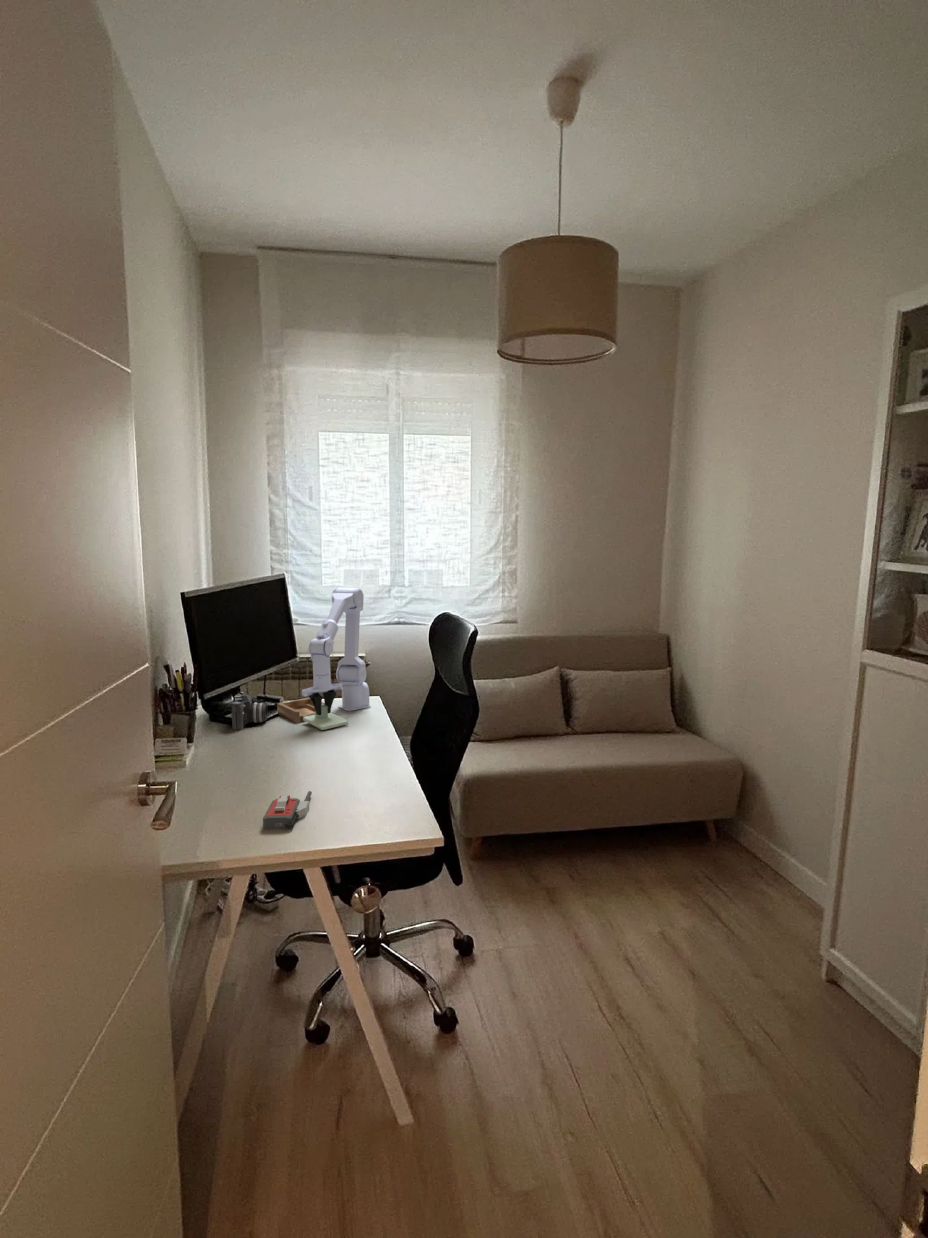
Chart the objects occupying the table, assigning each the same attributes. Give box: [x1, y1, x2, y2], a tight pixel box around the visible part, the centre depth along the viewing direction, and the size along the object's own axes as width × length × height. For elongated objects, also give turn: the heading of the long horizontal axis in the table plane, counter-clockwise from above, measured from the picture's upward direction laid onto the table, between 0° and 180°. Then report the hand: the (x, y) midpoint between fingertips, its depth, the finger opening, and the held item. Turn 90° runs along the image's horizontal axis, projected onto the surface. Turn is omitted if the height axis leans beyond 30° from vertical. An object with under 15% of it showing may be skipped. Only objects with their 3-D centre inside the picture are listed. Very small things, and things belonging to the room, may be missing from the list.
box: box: [276, 697, 332, 724], centre depth 252 cm, size 13×15×4 cm
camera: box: [230, 691, 268, 731], centre depth 242 cm, size 14×11×10 cm
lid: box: [303, 704, 349, 731], centre depth 240 cm, size 10×12×5 cm
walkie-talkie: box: [262, 790, 312, 830], centre depth 169 cm, size 9×4×20 cm
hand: (323, 713), depth 241 cm, fingers closed on lid, 3 cm apart
